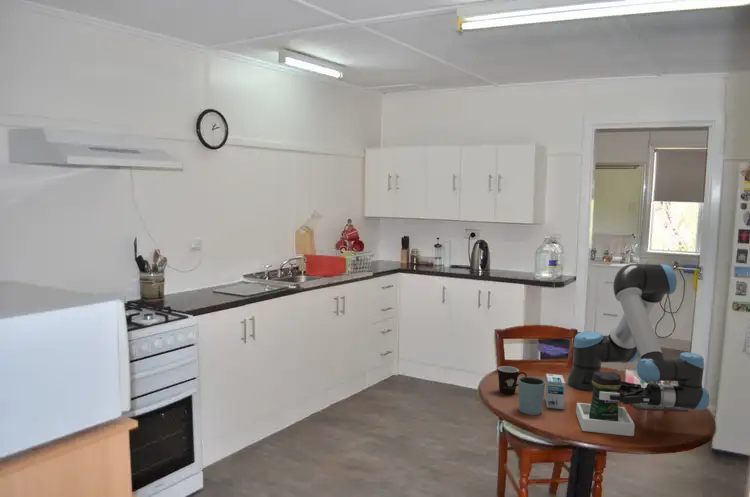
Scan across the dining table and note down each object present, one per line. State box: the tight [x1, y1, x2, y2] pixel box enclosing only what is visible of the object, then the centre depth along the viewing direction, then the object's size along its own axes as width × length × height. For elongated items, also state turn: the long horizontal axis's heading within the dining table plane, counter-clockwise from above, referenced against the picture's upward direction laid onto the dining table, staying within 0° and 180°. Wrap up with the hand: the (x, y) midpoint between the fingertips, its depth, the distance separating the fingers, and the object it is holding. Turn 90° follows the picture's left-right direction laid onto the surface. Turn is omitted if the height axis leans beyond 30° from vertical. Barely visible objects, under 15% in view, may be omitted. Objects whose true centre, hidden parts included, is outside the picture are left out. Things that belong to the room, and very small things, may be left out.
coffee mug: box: [497, 365, 528, 396], centre depth 242 cm, size 12×9×10 cm
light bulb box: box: [544, 373, 566, 410], centre depth 231 cm, size 11×7×11 cm, turn 168°
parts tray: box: [575, 402, 636, 437], centre depth 211 cm, size 17×17×4 cm
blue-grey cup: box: [517, 376, 546, 416], centre depth 223 cm, size 10×10×12 cm
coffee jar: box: [589, 371, 622, 422], centre depth 210 cm, size 10×8×19 cm
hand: (596, 389), depth 211 cm, fingers open, 13 cm apart
